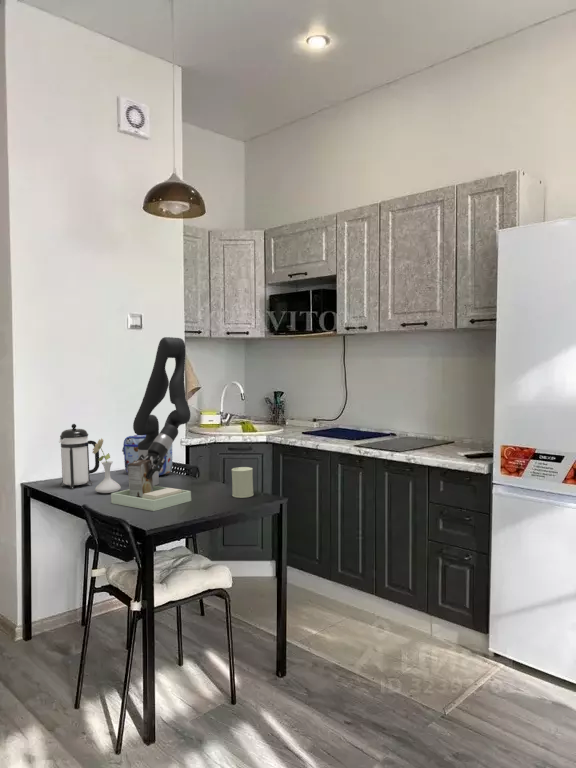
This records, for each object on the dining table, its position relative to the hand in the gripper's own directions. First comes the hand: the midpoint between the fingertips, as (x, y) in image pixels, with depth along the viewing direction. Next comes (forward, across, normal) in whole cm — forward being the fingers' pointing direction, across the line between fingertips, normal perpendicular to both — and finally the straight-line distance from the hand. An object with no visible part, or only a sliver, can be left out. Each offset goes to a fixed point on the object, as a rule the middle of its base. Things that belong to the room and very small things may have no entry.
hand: (140, 477), depth 260 cm
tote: (+8, +6, +8) cm, 12 cm away
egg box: (+7, +13, +7) cm, 16 cm away
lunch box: (-23, -48, +39) cm, 66 cm away
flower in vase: (+4, -30, +11) cm, 32 cm away
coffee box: (+7, 0, +7) cm, 10 cm away
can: (-15, +28, +30) cm, 44 cm away
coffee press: (+2, -56, +13) cm, 58 cm away
